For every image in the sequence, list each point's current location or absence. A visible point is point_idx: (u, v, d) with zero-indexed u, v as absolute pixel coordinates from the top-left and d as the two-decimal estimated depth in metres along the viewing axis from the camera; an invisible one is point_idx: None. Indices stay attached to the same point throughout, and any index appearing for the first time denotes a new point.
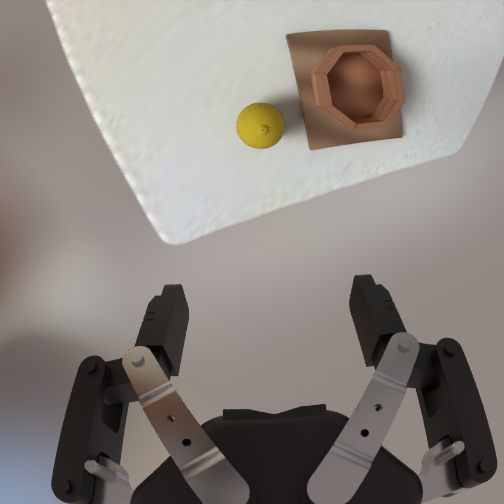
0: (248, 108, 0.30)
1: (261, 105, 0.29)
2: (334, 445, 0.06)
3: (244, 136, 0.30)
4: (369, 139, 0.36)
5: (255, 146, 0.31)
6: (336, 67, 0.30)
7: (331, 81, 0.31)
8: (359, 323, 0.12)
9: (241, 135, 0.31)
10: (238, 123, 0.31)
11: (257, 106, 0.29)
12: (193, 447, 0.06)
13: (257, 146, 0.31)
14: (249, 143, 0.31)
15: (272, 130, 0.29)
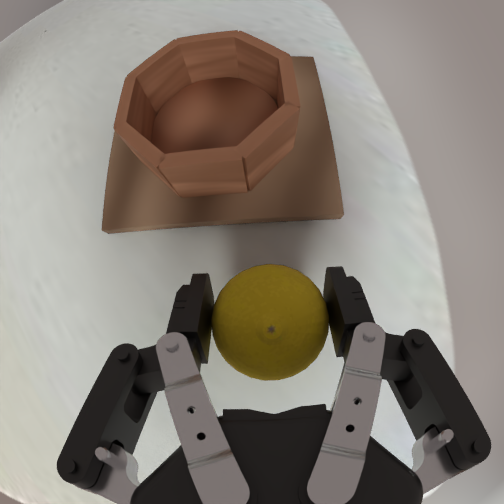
0: (216, 345, 0.13)
1: (213, 313, 0.13)
2: (323, 446, 0.06)
3: (285, 375, 0.11)
4: (321, 104, 0.19)
5: (318, 349, 0.11)
6: (174, 148, 0.19)
7: None
8: (330, 314, 0.13)
9: (282, 378, 0.12)
10: (250, 376, 0.12)
11: (213, 325, 0.12)
12: (193, 447, 0.06)
13: (319, 345, 0.11)
14: (307, 364, 0.11)
15: (279, 301, 0.11)
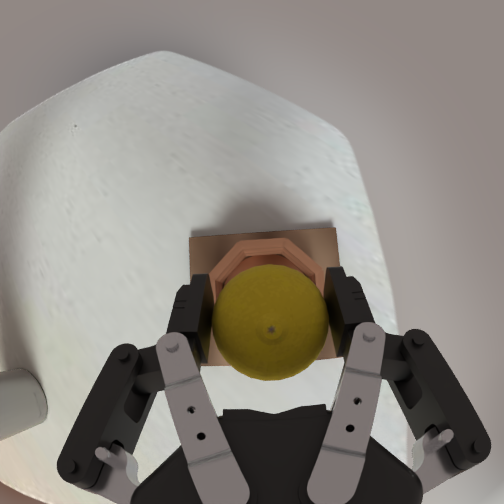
0: None
1: (213, 314, 0.13)
2: (323, 446, 0.06)
3: (285, 375, 0.11)
4: None
5: (318, 350, 0.11)
6: None
7: None
8: (330, 314, 0.13)
9: (282, 378, 0.12)
10: (250, 377, 0.12)
11: (213, 326, 0.12)
12: (193, 447, 0.06)
13: (319, 345, 0.11)
14: (307, 364, 0.11)
15: (279, 302, 0.11)
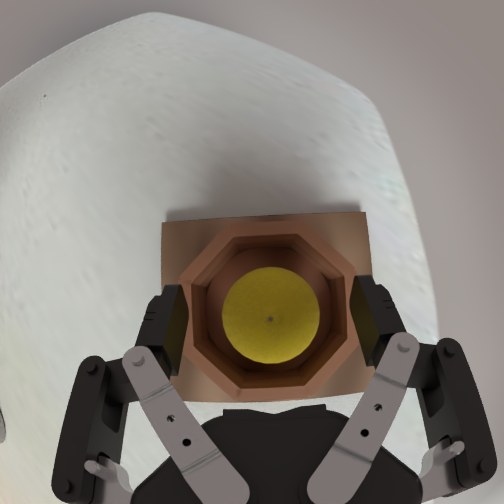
0: (226, 334, 0.15)
1: (223, 308, 0.16)
2: (334, 445, 0.06)
3: (282, 357, 0.14)
4: None
5: (310, 337, 0.14)
6: None
7: None
8: (359, 323, 0.12)
9: (280, 361, 0.14)
10: (254, 360, 0.15)
11: (223, 318, 0.15)
12: (193, 447, 0.06)
13: (310, 333, 0.14)
14: (300, 348, 0.14)
15: (276, 297, 0.14)
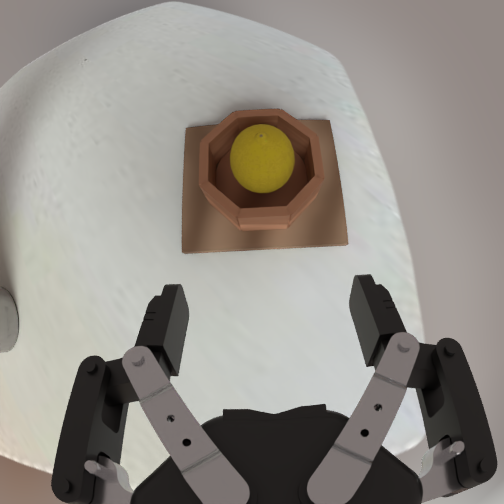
0: (233, 165, 0.23)
1: (231, 148, 0.23)
2: (334, 445, 0.06)
3: (270, 168, 0.22)
4: (335, 163, 0.29)
5: (287, 158, 0.22)
6: (234, 194, 0.28)
7: (253, 203, 0.28)
8: (359, 323, 0.12)
9: (269, 175, 0.22)
10: (252, 179, 0.23)
11: (231, 151, 0.23)
12: (193, 447, 0.06)
13: (287, 154, 0.22)
14: (282, 164, 0.22)
15: (264, 129, 0.21)
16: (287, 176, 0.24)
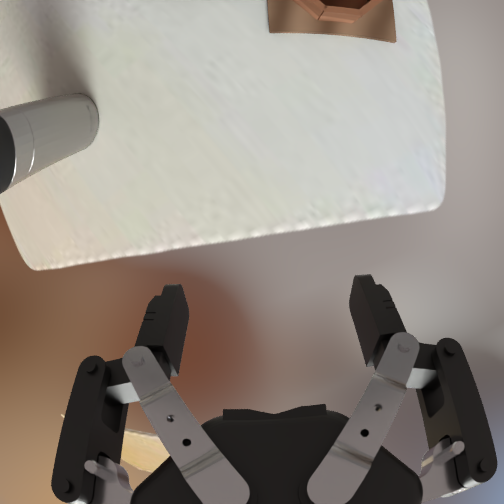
0: None
1: None
2: (334, 445, 0.06)
3: None
4: None
5: None
6: None
7: (327, 3, 0.24)
8: (359, 323, 0.12)
9: None
10: None
11: None
12: (193, 447, 0.06)
13: None
14: None
15: None
16: None
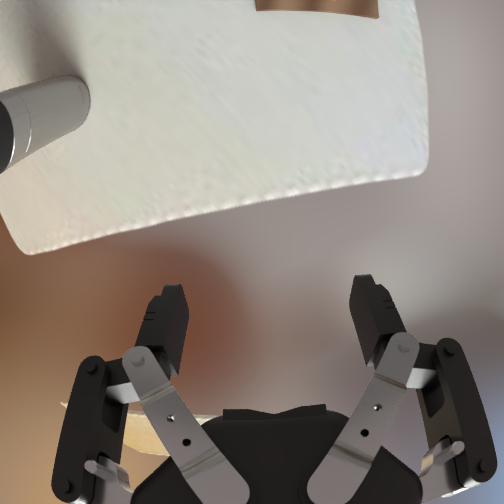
0: None
1: None
2: (334, 445, 0.06)
3: None
4: None
5: None
6: None
7: None
8: (359, 323, 0.12)
9: None
10: None
11: None
12: (193, 447, 0.06)
13: None
14: None
15: None
16: None
